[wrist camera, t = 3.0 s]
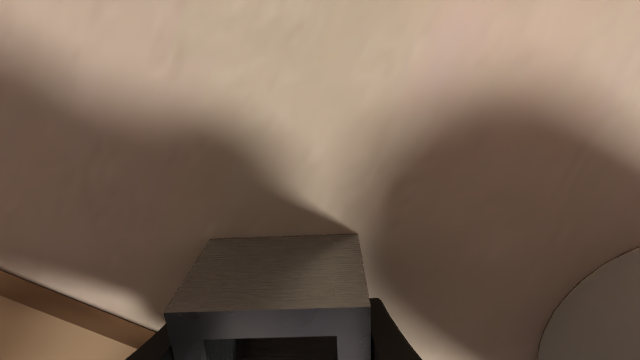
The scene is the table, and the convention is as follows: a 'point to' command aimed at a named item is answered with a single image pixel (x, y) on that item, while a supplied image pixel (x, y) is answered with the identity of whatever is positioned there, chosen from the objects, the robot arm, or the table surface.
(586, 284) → the coffee mug
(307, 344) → the square hub
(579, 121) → the table surface
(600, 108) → the table surface
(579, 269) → the table surface
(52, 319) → the post board
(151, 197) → the table surface
